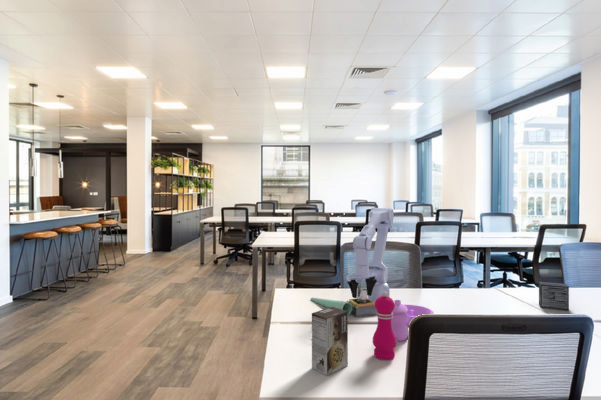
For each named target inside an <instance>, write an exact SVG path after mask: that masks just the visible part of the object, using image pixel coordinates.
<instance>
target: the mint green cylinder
mask: <svg viewBox="0 0 601 400" xmlns="http://www.w3.org/2000/svg"><path fill="white" fill-rule="evenodd" d="M310 301H312V302H314V303H316V304H318V305H320V306H322V307H325V309H326V308H329V307H335V308H339V309H341V310H344V311H347V316H350V315H351V311H352V305H351V304H350V303H349V302H347V301H344V300H335V299H329V298H327V299H326V298H319V297H311V298H310Z"/></svg>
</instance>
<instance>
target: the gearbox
mask: <svg viewBox="0 0 601 400" xmlns="http://www.w3.org/2000/svg"><path fill="white" fill-rule="evenodd" d="M346 302H349V303H350V304H351V305H352V311H351V313H350V315H353V316H354V317H355V318H357V317H368V316H376V315H377V313H376V312H377V309H376V308H375V303H374V302H373V301H371V300H369V299H368V298H367V303H363V304H357V298H350V299H348V300H346Z"/></svg>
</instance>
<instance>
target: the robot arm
mask: <svg viewBox="0 0 601 400" xmlns="http://www.w3.org/2000/svg"><path fill="white" fill-rule="evenodd" d="M369 217H370V219H369V221H368V223H367V224H366V225H363V228H362V229H361V231H360V232H359V234H358V235H356V236H354V237H353V239H352V247H353V253H354V254H355V255H354V259H355V260H354V267H355V268H354V274H350V275H346V277H345V278H346V279H345V280H346V283H347V285H348V286H349V288H350V293H351V298H352V299H357V288H358V285H359V284H360V282H357V281H360V280H361V281H362V280H364V281H365V284H366V285H365V287H366V289H367V299H369V300H371V301H373V302H374V303H375V301H376V299H377V298H378V297H380V296H382V292H384V291H385V292H387V294H388V297H390V286H389V284H388V283H387V282H388V279H389V274H388V273H389V269H388V267H387V265H385V264H384V263H383V262H384V259H385V258H384V257H385V252H386V247H387V245H386V244H387V240H388V233H389V229H391V228H392V226H393V225H394V217H395V216H394V210H393V209H392V208H391V207H390V208H387V207H381V208H380V207H372V208H371V209H370V211H369ZM376 229H377V231H376ZM375 236H376V237H375ZM374 237H375V242H374V248H373V249H374V250H373V254H372V260H371V261H370V250H371V248H372V243H373V238H374Z"/></svg>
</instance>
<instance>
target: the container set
mask: <svg viewBox="0 0 601 400" xmlns="http://www.w3.org/2000/svg"><path fill="white" fill-rule="evenodd" d="M393 301H394V304H395V308H394V310H393V311H392V313H393V318H392V319H391V326H392V330H393V333H394V335H395V337H396V342H402V341H404V340H406V338H408V336H409V334H408V326H409V323H410V321H411V320H412V319H413V318H415V317H416V316H418V315H422V314H434V310H433V309H430V308H428V307H426V306H423V305H418V304H417V305H416V304H402V300H400V299H394V300H393Z"/></svg>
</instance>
